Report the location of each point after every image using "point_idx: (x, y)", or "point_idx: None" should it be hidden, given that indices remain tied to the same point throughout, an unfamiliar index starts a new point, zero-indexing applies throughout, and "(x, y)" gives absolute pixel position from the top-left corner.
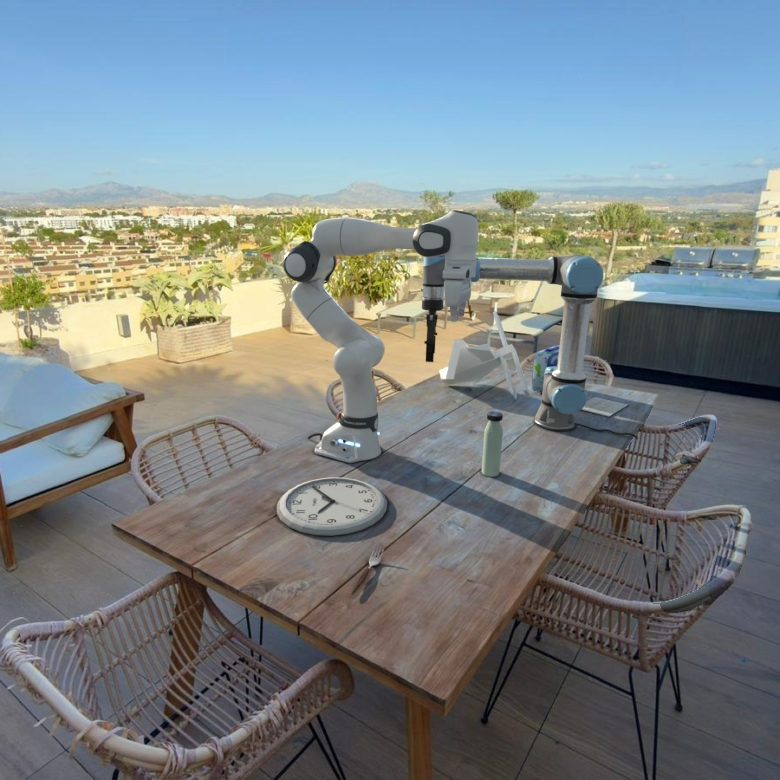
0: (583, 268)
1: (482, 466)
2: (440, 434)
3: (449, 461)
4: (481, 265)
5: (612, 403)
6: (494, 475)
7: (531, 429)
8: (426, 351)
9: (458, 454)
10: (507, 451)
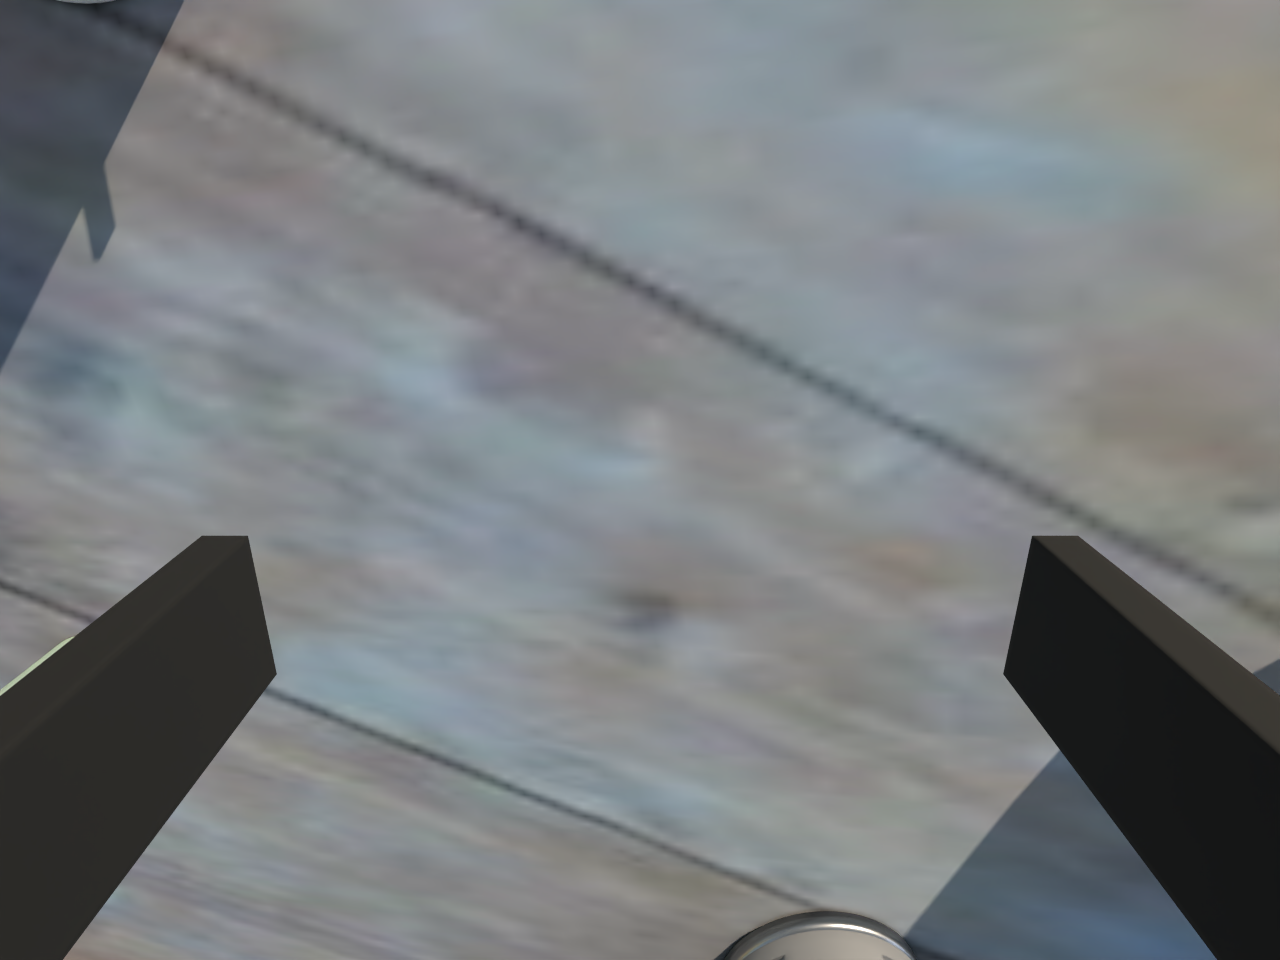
0: None
1: (45, 659)
2: (559, 419)
3: (152, 480)
4: None
5: None
6: None
7: (728, 885)
8: (32, 685)
9: (269, 528)
10: (393, 761)
